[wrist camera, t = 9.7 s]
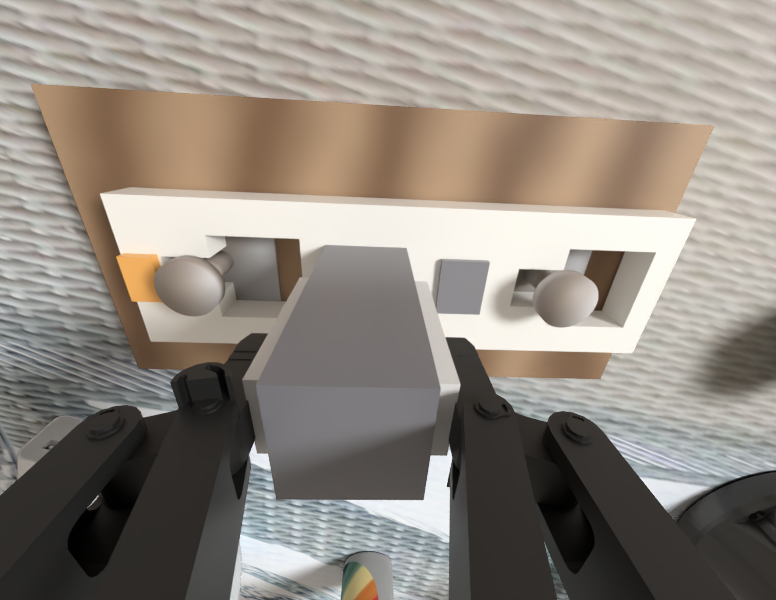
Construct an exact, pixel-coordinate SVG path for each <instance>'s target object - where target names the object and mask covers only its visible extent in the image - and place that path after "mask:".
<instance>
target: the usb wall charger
mask: <svg viewBox="0 0 776 600" xmlns="http://www.w3.org/2000/svg"><path fill="white" fill-rule="evenodd" d="M82 421H84V420H83V419H79V418H76V417H72V416H68V415H64V416H60V417H57V418H55V419H54V420H53V421H51V422H50V423H49V424H48V425H47V426H46V427H45V428H43V429H42V430H41V431H40V432H39V433H38V434H37V435H35V436H34V437H33V438H32V439H31V440H30V441H29V442H27V443H26V444H25V445H24V446H23V447H22V448H21V449H20V450H19V451H18V479H19V478H20V477H21V476H22V475H23V474H24V473H26V472H27V471H28V470H29V469H30V468H31V467H32V466H33V465H34V464H35V463H37V462H38V461H39V460H40V459H41V458H42V457H43V456H44V455H45V454H46V453H47V452H49V451H50V450H51V449H52V448H53V447H54V446H55V445H56V444H57V443H58V442H59V441H61V440H62V439H63V438H64V437H65V436H66V435H67V434H68V433H69V432H70V431H72V430H73V429H74V428H75V427H76V426H77V425H78V424H80V423H81V422H82Z"/></svg>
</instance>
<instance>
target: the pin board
mask: <svg viewBox="0 0 776 600" xmlns="http://www.w3.org/2000/svg"><path fill="white" fill-rule="evenodd" d="M31 86H32V89H33V91H34V94H35V97H36V99H37V102H38V105H39V107H40V110H41V112H42V115H43V118H44V120H45V123H46V126H47V128H48V131H49V133H50V136H51V139H52V141H53V144H54V147H55V149H56V152H57V155H58V157H59V160H60V162H61V165H62V168H63V170H64V173H65V176H66V178H67V181H68V183H69V186H70V189H71V191H72V194H73V197H74V199H75V202H76V204H77V207H78V210H79V212H80V215H81V218H82V220H83V223H84V226H85V228H86V231H87V233H88V236H89V239H90V241H91V244H92V247H93V249H94V252H95V254H96V257H97V260H98V262H99V265H100V268H101V270H102V273H103V276H104V278H105V281H106V283H107V286H108V289H109V291H110V294H111V297H112V299H113V302H114V304H115V307H116V310H117V312H118V315H119V318H120V320H121V323H122V325H123V328H124V331H125V333H126V336H127V339H128V341H129V344H130V347H131V349H132V352H133V354H134V357H135V360H136V362H137V365H138V368H140V369H186V368H189V367H191V366H194V365H196V364H201V363H206V362H219V363H222V364H225V362H226V361H228V358H229V356H230V355H231V353H233V351H234V349H235V348H236V346H237V345H238V344H231V343H190V342H151V341H150V338H149V335H148V332H147V329H146V326H145V323H144V320H143V317H142V315H141V312H140V309H139V306H138V303H137V302H134V301H132V300H131V298H130V295H129V292H128V289H127V286H126V283H125V281H124V278H123V275H122V272H121V269H120V266H119V264H118V261H117V258H116V256H118V255H121V254H120V251H119V248H118V245H117V242H116V239H115V236H114V233H113V230H112V228H111V225H110V222H109V219H108V216H107V213H106V210H105V207H104V204H103V201H102V199H101V196H100V193H105V192H110V191H114V190H119V189H124V188H129V187H137V188H160V189H183V190H206V191H228V192H251V193H274V194H297V195H320V196H343V197H366V198H389V199H412V200H435V201H458V202H481V203H504V204H527V205H550V206H573V207H596V208H619V209H642V210H664V211H668V212H672V213H675V212H676V210H677V208H678V205H679V203H680V201H681V199H682V197H683V194H684V192H685V190H686V188H687V185H688V183H689V181H690V179H691V177H692V174H693V172H694V170H695V168H696V166H697V163H698V161H699V159H700V157H701V154H702V152H703V150H704V148H705V146H706V143H707V141H708V139H709V137H710V134H711V132H712V130H713V128H714V126H712V125H696V124H679V123H663V122H647V121H630V120H614V119H598V118H581V117H565V116H548V115H532V114H516V113H499V112H483V111H467V110H450V109H434V108H418V107H401V106H385V105H369V104H352V103H336V102H320V101H303V100H287V99H271V98H254V97H238V96H222V95H205V94H189V93H172V92H156V91H140V90H123V89H107V88H91V87H74V86H58V85H42V84H31ZM225 240H226V247H224V248H223V249H221V250H220V251H219V252H217V253H216V254H215V255H213V256H212V257H210V258H200V257H197V256H193V255H183V256H178V257H176V258H174V259H172V260H170V261H169V262H167V263H165V264H164V265H162V266H161V267H160V268H159V269H158V270H157V271H156V273H155V276H154V287H155V291H156V293H157V295H158V297H159V298H160V300H161V301H162V302H163V303H164V304H165V305H166V306H167V307H169V308H170V309H172V310H173V311H175V312H177V313H179V314H182V315H186V316H193V317H194V316H202V315H205V314H208V313H209V312H211V311H212V310H213V309H214V308H215V307H216V306H217V305H218V304H219V303H220V301H221V300H222V299H223V297H224V295H225V282H233V283H234V288H235V294H236V299H237V300H254V301H287V299H288V298H289V296H290V294H291V292H292V290H293V289H294V287H295V285H296V283H297V282H298V280H299V278H300V277H302V266H301V254H300V241H299V239H288V238H261V237H235V236H225ZM624 253H625V251H605V250H579V249H570V251H569V255H568V258H567V261H566V264H565V267H564V270H536V269H519V272H518V276H517V280H516V284H515V288H514V291H519V292H534V294H533V300H532V302H533V307H534V309H535V311H536V312H537V314H538V315H539V316H540V317H541V318H542V319H543V320H544V321H545V322H546V323H547V324H549V325H551V326H553V327H559V328H564V327H570V326H573V325H576V324H578V323H580V322H581V321H583V320H584V319H586V318H587V317H588V316H589V315H590V314H591V313H592V311H602V309H603V306H604V304H605V301H606V299H607V296H608V293H609V291H610V288H611V286H612V283H613V281H614V278H615V276H616V273H617V271H618V268H619V266H620V263H621V261H622V258H623V256H624ZM476 351H477V353H478V355H479V358H480V360H481V362H482V365H483V366H484V369H485V371H486V373H487V375H488V376H491V377H535V378H579V379H601V376H602V374H603V372H604V370H605V367H606V365H607V363H608V361H609V359H610V356H611V354H612V353H605V352H564V351H522V350H481V349H476Z"/></svg>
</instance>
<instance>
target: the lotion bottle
mask: <svg viewBox="0 0 776 600" xmlns="http://www.w3.org/2000/svg"><path fill="white" fill-rule="evenodd" d="M341 600H394V596H393V571H392V563H391V560H390V559H389V558H388V557H387V556H385V555H383V554H381V553H377V552H361V553H357V554H354V555H352V556H350V557H349V558H348V559H347V560H346V562H345V564H344V570H343V580H342V592H341Z"/></svg>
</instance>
